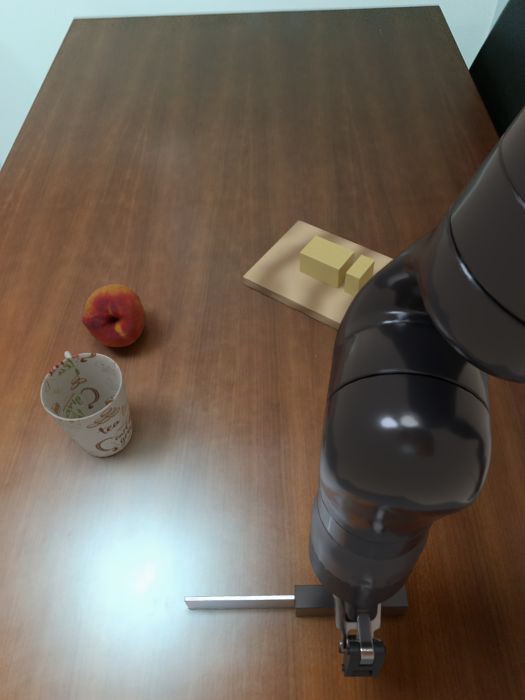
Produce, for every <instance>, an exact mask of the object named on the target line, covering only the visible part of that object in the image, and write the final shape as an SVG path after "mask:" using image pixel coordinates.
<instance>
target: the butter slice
mask: <svg viewBox="0 0 525 700" xmlns="http://www.w3.org/2000/svg"><path fill="white" fill-rule="evenodd" d="M374 263H375V260H373V259H371V258H368V257H366V256H364V255H361V256H360V257H359V258H358V259H357V260H356V262H355V263H354V264H353V265H352V266H351V267H350V269H349V270H348V271H347V272H346V278H345V289H344V292H346V293H348V294H351V295H353V296H355V295H356V294H357V293H358V291H359V290H360V289H361V288H362V287H363V285H364V284H365V283H366V282H367V281H368V280H369V279H370V278H371V277H372V276H373V270H374Z"/></svg>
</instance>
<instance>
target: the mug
mask: <svg viewBox="0 0 525 700" xmlns="http://www.w3.org/2000/svg"><path fill="white" fill-rule="evenodd" d="M63 355H64V358H65V359H63V360H61V361H60V362H58V363H57V364H55V366H54V367H52V368H51V369H50V370H49V371H48V373H47V374H46V376H45V377H44V378H43V380H42V383H41V386H40V391H39V396H40V397H39V398H40V401H41V404H42V407H43V408H44V410H45V411H46V413H47V414H48V415H49V416H50V417H51V418H52V419H53V421H55V422H56V424H58V425H59V426H60V428H62V429H63V430H64V431H65V432H66V433H67V434H68V435H69V436H70V438H72V439H73V440H74V442H76V444H78V446H79V447H80V448H82V450H84V452H86V453H88V454H89V455H90V456H93V457H96V458H97V457H99V458H105V457H110V456H113V455H115V454H118V453H119V452H120V451H122V450H123V449H124V448H125V447H126V446H127V445H128V444H129V442H130V441H131V438H132V436H133V428H134V427H133V421H132V415H131V410H130V405H129V400H128V395H127V390H126V384H125V379H124V375H123V372H122V370H121V367H120V366H119V364H117V362H116V361H115V360H114V359H113V358H111V357H109V356H107V355H105V354H102V353H98V352H83V353H78V354H74V355H73V354H72V353H71V352H70V351H69V350H66V351H64V352H63Z"/></svg>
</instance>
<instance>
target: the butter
mask: <svg viewBox="0 0 525 700" xmlns="http://www.w3.org/2000/svg"><path fill="white" fill-rule="evenodd" d="M353 262H354V251H352V250H349V249H347V248H345V247H342V246H340V245H337V244H335V243H333V242H330V241H328V240H326V239H323V238H321V237H318V236H315V237H314V238H313V239H312V240H311V241H310V242H309V243H308V244H307V245H306V246H305V247H304V249H303V250H302V251H301V252H300V272H302V273H304V274H307V275H309V276H311V277H313V278H315V279H318V280H320V281H322V282H324V283H326V284H329V285H331V286H333V287H335V288H338V287H339V286H340V285H341V284H342V283H343V281H344V280H345V278H346V272H347V271H348V270H349V269H350V267H351V266H352V265H353Z"/></svg>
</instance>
